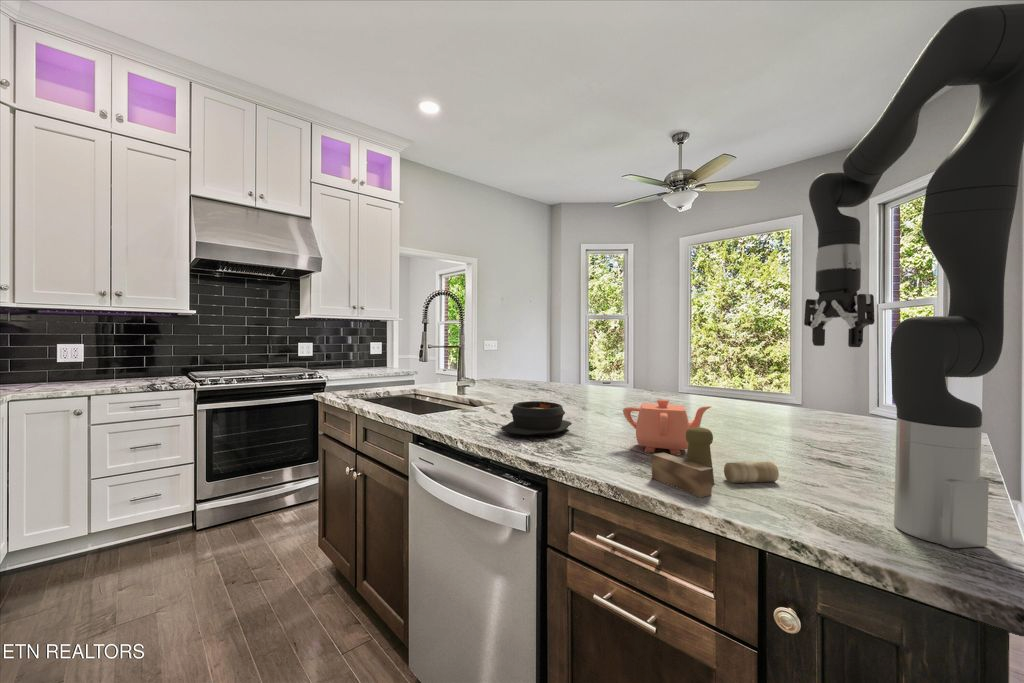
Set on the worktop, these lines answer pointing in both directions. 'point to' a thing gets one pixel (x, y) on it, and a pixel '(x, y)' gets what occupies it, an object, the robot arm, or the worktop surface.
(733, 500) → the worktop surface
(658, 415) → the teapot
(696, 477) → the block
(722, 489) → the worktop surface
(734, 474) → the roller
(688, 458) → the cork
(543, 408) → the casserole
